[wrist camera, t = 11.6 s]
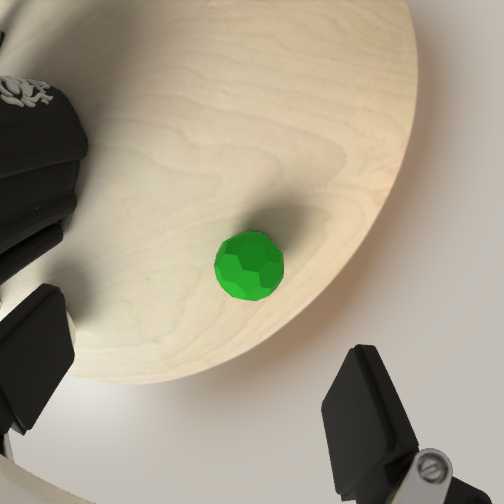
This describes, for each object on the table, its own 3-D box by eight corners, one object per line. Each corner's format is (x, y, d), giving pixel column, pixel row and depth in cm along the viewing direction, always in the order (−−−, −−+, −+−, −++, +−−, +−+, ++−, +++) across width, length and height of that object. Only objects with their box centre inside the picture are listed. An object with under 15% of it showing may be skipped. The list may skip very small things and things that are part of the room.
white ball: (48, 270, 25) (5, 305, 18) (97, 320, 27) (64, 365, 20) (23, 317, 27) (-9, 351, 21) (65, 358, 29) (38, 398, 22)
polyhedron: (266, 213, 22) (268, 232, 18) (291, 266, 24) (298, 296, 19) (208, 239, 23) (196, 264, 19) (236, 289, 25) (231, 322, 20)
